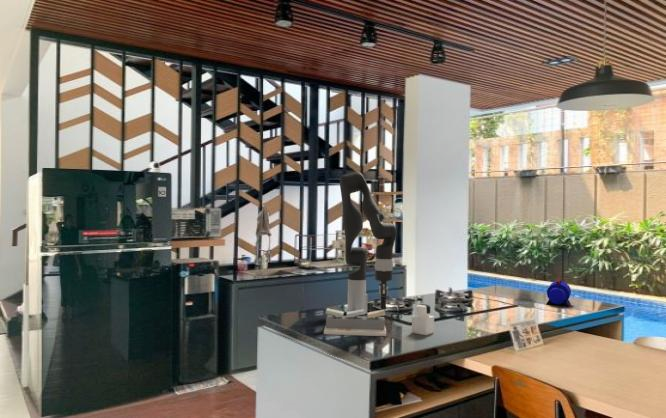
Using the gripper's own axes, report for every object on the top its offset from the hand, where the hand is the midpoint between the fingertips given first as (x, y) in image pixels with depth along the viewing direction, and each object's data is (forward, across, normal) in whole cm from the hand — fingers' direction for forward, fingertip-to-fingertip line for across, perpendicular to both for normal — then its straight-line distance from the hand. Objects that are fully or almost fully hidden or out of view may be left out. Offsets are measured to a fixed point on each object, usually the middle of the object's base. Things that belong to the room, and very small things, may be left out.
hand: (383, 309), depth 222 cm
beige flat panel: (+4, 0, -3) cm, 5 cm away
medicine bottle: (+10, 0, +17) cm, 20 cm away
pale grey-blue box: (+4, 0, -12) cm, 12 cm away
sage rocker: (+4, 0, -21) cm, 22 cm away
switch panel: (+10, +2, -12) cm, 15 cm away
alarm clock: (+10, -81, +103) cm, 132 cm away
